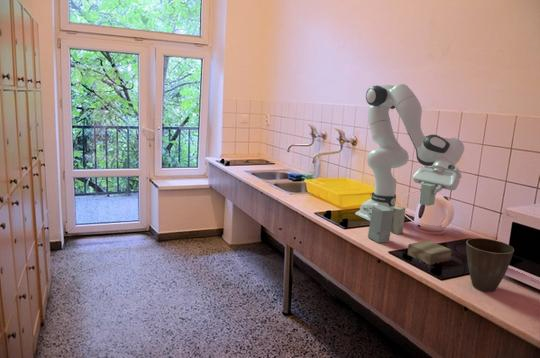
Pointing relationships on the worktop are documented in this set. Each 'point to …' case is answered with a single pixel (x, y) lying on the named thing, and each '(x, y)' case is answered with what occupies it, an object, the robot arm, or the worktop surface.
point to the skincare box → (380, 224)
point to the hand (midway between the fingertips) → (427, 192)
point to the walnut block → (429, 252)
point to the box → (398, 220)
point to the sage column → (427, 194)
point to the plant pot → (487, 262)
